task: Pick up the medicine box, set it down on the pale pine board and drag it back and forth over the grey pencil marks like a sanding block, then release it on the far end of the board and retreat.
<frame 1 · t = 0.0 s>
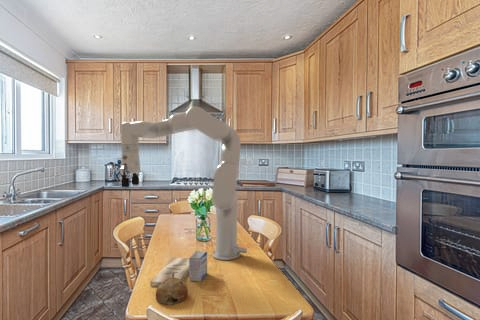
hand: (130, 185, 139), 31 cm above the table, fingers open, 9 cm apart
bread roll: (171, 298, 96), on the table
medicine box: (198, 277, 112), on the table
board: (175, 272, 116), on the table
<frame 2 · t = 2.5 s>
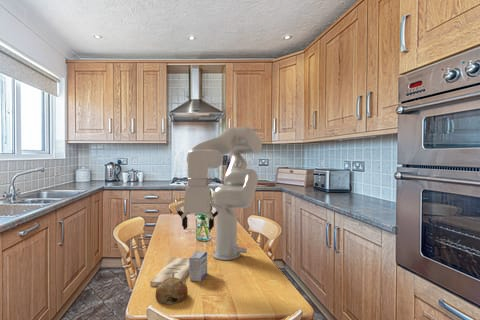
hand: (198, 228, 111), 18 cm above the table, fingers open, 9 cm apart
nothing on the table moved.
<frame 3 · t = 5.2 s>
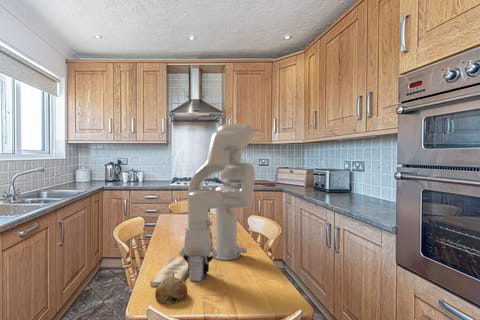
hand: (198, 272, 112), 2 cm above the table, fingers closed on medicine box, 4 cm apart
medicine box: (198, 277, 112), on the table, touching gripper
everything else where it was.
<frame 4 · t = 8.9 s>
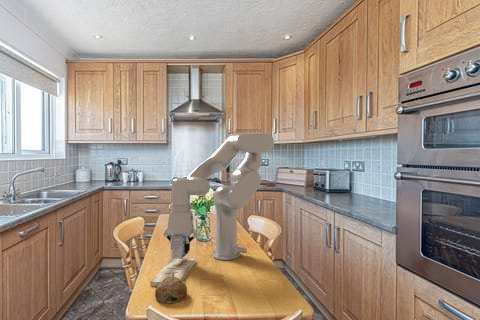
hand: (180, 251, 123), 6 cm above the table, fingers closed on medicine box, 4 cm apart
medicine box: (180, 256, 123), point 4 cm above the table, touching gripper
everything else where it was.
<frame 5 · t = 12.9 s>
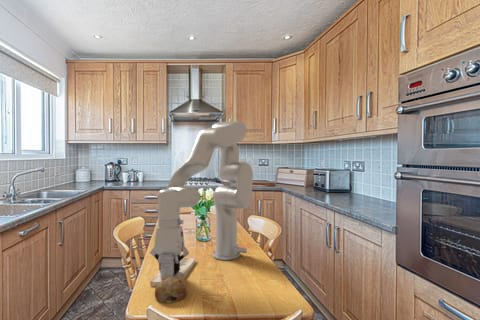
hand: (169, 272, 109), 3 cm above the table, fingers closed on medicine box, 4 cm apart
medicine box: (170, 275, 110), point 1 cm above the table, touching gripper
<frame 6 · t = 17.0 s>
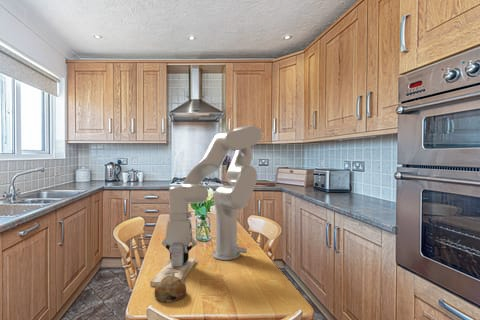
hand: (179, 261, 121), 3 cm above the table, fingers closed on medicine box, 4 cm apart
medicine box: (179, 263, 121), point 1 cm above the table, touching gripper
when the fingers open (3 cm above the table, at t = 20.8 s): medicine box stays where it is, resting on board.
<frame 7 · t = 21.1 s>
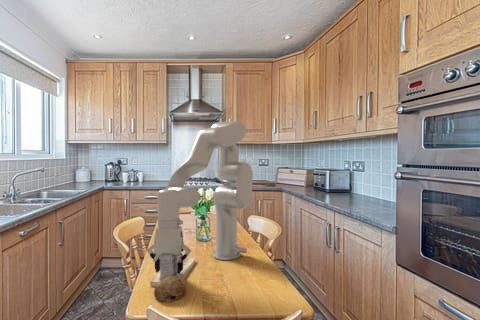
hand: (169, 271, 109), 3 cm above the table, fingers open, 7 cm apart
medicine box: (169, 276, 109), point 1 cm above the table, touching board
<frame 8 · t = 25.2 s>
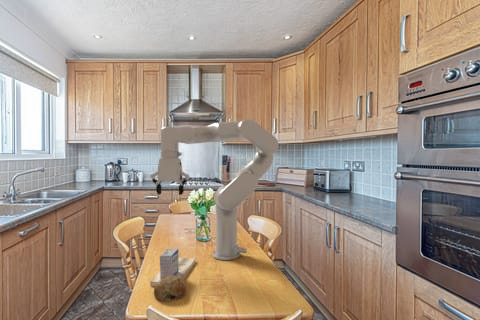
hand: (170, 194, 131), 28 cm above the table, fingers open, 9 cm apart
at the end: medicine box inside the target area (0.9 cm from its centre), point 1.3 cm above the table; medicine box moved 10.6 cm from its start; the gripper is holding nothing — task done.
